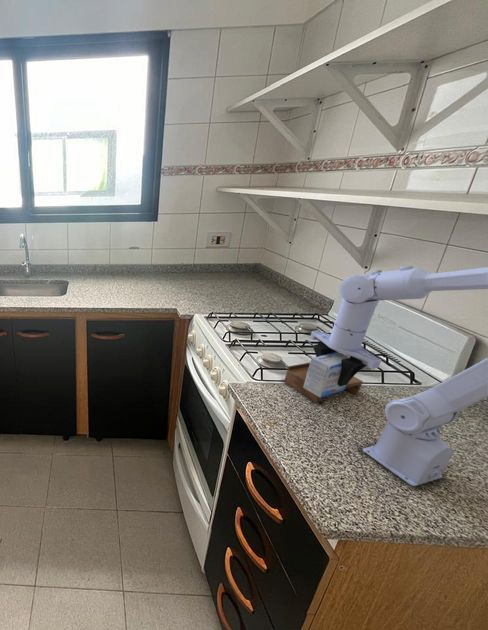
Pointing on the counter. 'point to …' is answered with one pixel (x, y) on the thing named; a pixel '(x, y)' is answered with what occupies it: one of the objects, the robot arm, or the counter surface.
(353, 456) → the counter surface
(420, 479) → the robot arm
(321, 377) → the medicine box
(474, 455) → the counter surface
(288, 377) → the wooden display riser
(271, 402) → the counter surface
